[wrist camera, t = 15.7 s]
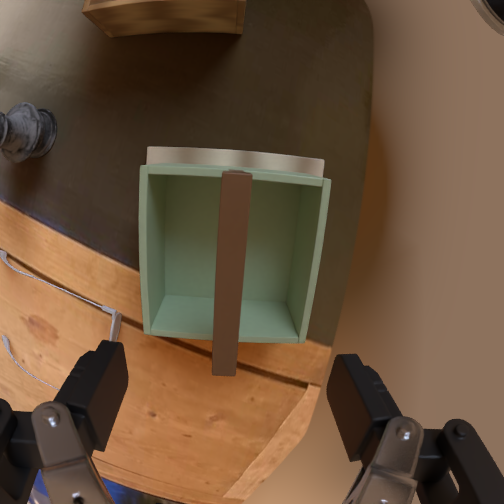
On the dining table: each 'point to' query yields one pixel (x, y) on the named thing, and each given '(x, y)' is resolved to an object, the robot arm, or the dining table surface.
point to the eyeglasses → (115, 316)
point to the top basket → (229, 254)
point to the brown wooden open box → (165, 16)
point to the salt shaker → (26, 132)
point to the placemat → (235, 159)
